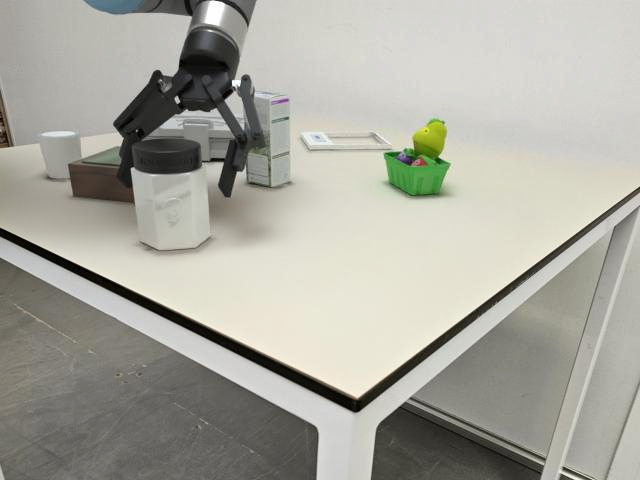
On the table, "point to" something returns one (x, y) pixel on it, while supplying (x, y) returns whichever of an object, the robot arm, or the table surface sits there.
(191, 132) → the grey plastic tool case
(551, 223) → the table surface
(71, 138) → the white cup
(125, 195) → the shelf
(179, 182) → the jar
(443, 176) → the fruit basket
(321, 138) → the photo frame
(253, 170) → the syrup box
